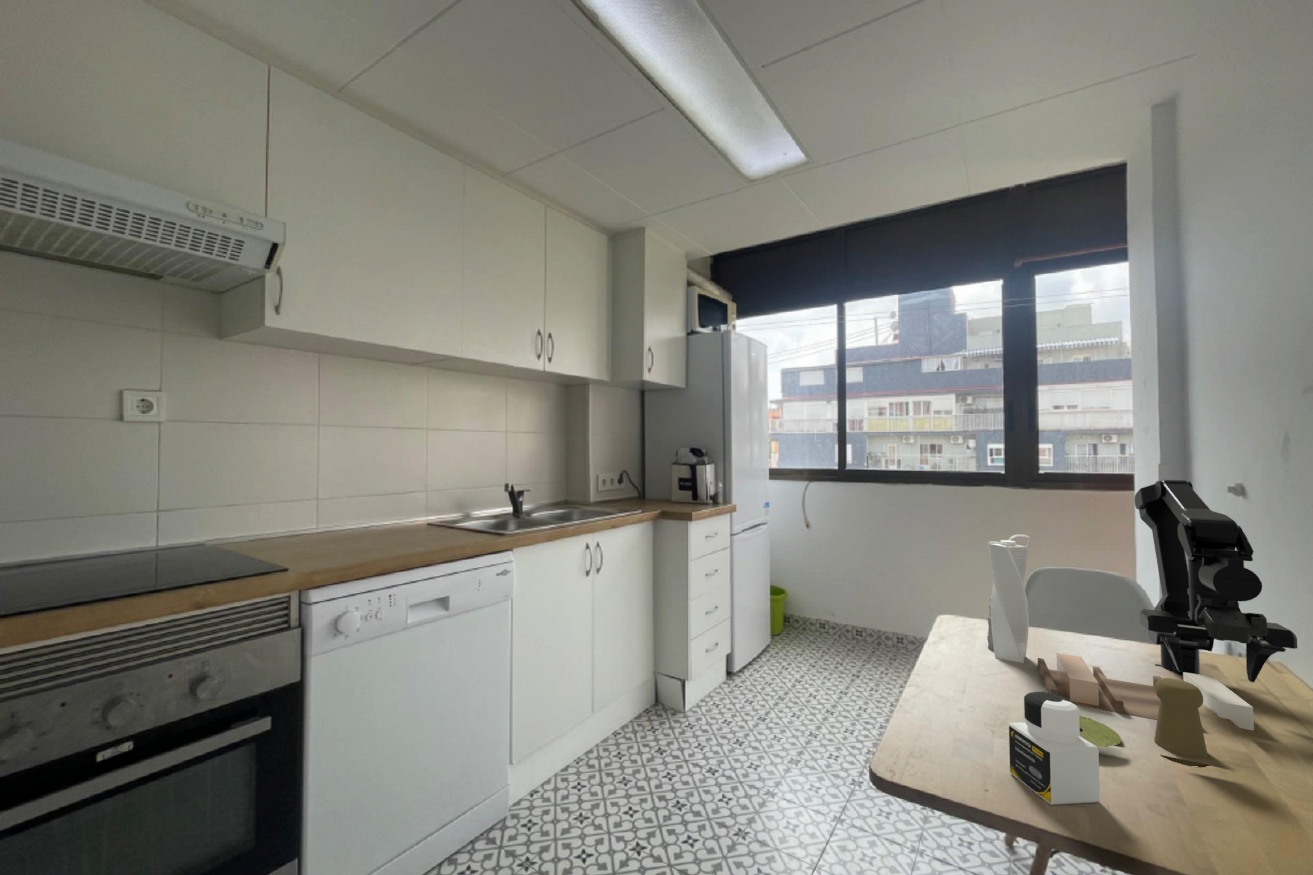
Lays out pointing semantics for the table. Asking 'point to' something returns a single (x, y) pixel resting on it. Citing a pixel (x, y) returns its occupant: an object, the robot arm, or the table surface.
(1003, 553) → the skyscraper
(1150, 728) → the table surface
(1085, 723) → the mat
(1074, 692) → the light brown wooden block
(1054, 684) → the drying rack
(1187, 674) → the clay strip
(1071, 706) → the medicine bottle
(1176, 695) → the cork
